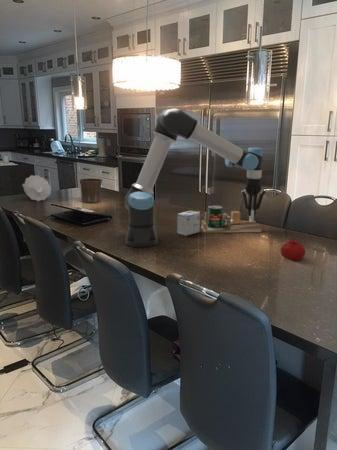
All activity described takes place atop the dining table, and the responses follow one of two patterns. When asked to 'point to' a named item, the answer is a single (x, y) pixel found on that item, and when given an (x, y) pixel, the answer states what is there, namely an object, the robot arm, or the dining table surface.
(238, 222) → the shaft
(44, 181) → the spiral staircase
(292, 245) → the pomegranate
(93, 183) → the plant pot
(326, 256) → the dining table surface
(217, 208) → the canned tomato
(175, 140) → the robot arm
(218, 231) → the base
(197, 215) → the light bulb box
